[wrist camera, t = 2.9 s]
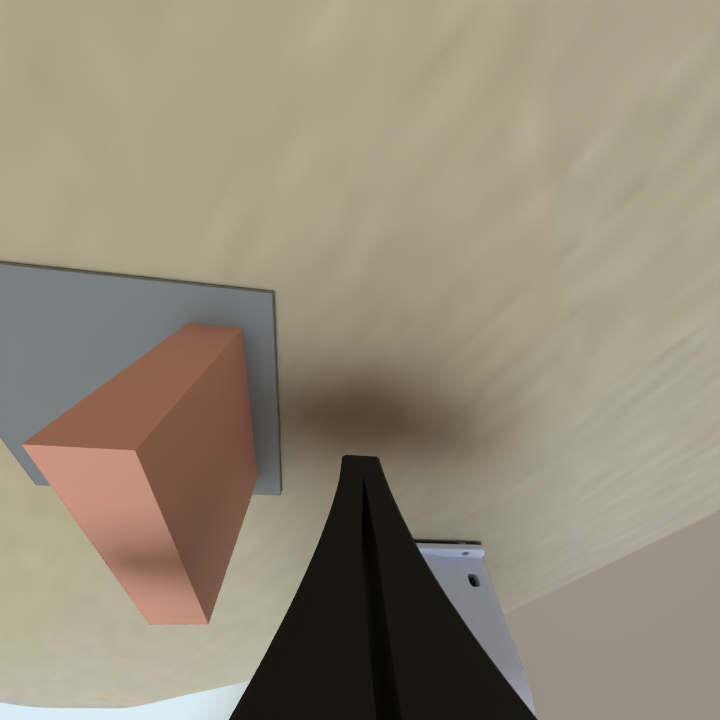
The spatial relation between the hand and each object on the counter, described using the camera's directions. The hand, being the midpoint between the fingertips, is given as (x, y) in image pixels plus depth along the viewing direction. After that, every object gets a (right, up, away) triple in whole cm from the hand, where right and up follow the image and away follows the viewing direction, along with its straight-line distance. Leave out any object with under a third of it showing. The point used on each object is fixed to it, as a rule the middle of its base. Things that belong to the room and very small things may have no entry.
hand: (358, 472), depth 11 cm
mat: (-10, +2, +2) cm, 11 cm away
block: (-6, +2, +2) cm, 7 cm away
